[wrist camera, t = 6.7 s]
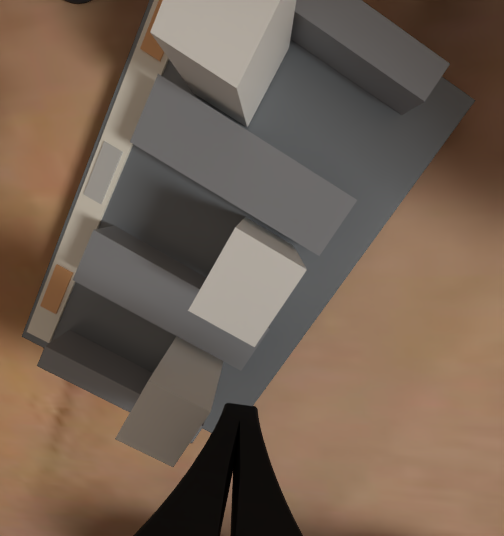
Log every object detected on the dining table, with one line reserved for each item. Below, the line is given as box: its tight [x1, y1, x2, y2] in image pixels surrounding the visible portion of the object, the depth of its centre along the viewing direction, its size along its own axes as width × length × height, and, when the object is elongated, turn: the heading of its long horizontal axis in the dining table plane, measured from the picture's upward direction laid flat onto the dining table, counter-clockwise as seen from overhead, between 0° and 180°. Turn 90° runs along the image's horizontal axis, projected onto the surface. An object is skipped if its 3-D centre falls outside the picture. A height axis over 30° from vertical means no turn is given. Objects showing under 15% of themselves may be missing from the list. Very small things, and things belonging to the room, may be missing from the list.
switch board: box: [22, 0, 475, 443], centre depth 11 cm, size 12×19×2 cm, turn 149°
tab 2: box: [150, 0, 296, 127], centre depth 8 cm, size 2×3×4 cm
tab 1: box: [115, 336, 223, 467], centre depth 11 cm, size 2×3×4 cm
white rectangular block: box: [188, 217, 307, 347], centre depth 10 cm, size 2×3×4 cm
